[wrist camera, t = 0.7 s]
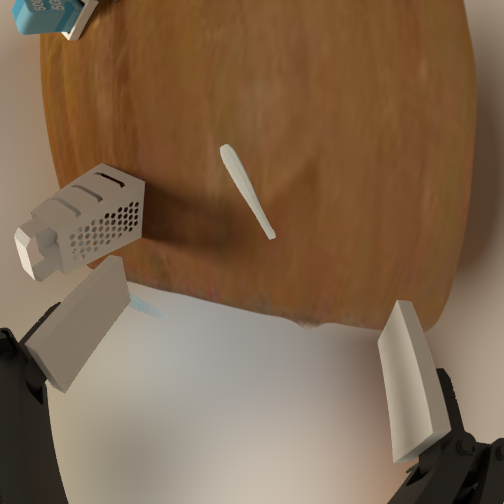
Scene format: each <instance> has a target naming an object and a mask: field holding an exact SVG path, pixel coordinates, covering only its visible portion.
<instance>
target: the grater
mask: <svg viewBox="0 0 504 504" xmlns="http://www.w3.org/2000/svg"><path fill="white" fill-rule="evenodd" d="M101 173H104V174H106V175H108V176H110V177H112V178H114V179H117V180H119V181H121V182H123V183H124V184H125V186H124V187H122V188H121V187H120V184H118V183H116V182H114V181H112V180H109V179H107V178H105V177H103V176H101ZM144 190H145V181H142V180H140V179H138V178H135V177H133V176H131V175H129V174H126V173H124V172H122V171H119V170H117V169H115V168H112V167H110V166H108V165H106V164H103V163H101V164H99V165H98V166H96V167H94V168H93V169H91V170H89V171H88V172H86V173H85V174H83V175H82V176H80V177H79V178H77V179H75V180H74V181H72V182H71V183H69V184H68V185H67V186H65V187H64V188H62V189H61V190H59V191H58V192H56V193H55V194H54V195H52V196H51V197H50V198H48V199H47V200H45V201H44V202H43V203H42V204H40V205H39V206H37V207H36V208H35V209H34V210H32V211H31V214H32V219H31V220H30V221H28V222H26V223H25V224H23V225H21V226H19V227H18V229H17V232H16V234H15V236H14V237H15V241H16V245H17V248H18V252H19V255H20V259H21V262H22V265H23V268H24V269H25V270H26V271H27V272H28V273H29V275H30V276H31V277H32V278H33V279H34V280H35V281H43V280H45V279H46V278H47V277H49V276H50V275H51V274H52V273H54V272H55V271H56V270H60V271H61V272H62V273H63V274H64V275H67V274H69V273H71V272H73V271H75V270H77V269H79V268H80V267H82V266H84V265H86V264H88V263H90V262H92V261H94V260H96V259H98V258H100V257H102V256H104V255H106V254H108V253H110V252H112V251H114V250H116V249H118V248H120V247H122V246H124V245H126V244H128V243H130V242H133V241H135V240H137V239H139V238H141V236H142V217H143V202H144ZM101 197H102V199H103V200H102V201H101ZM131 202H133V206H132V207H129V204H130V203H131ZM136 202H139V205H138V206H137V207H135V203H136ZM120 207H122V211H121V212H118V209H119V208H120ZM125 207H128V210H127V212H124V209H125ZM131 208H132V209H133V212H132V213H131V214H130V213H129V210H130V209H131ZM137 208H138V212H137V213H135V212H134V211H135V209H137ZM107 213H109V217H108V218H107V217H105V215H106V214H107ZM113 213H115V214H116V215H115V217H114V218H113V219H112V218H111V215H112V214H113ZM119 214H122V217H121V218H120V219H118V215H119ZM125 214H128V217H127V218H126V219H124V215H125ZM130 215H133V218H132V219H131V220H129V216H130ZM135 215H138V218H137V219H136V220H135V219H134V217H135ZM112 220H115V221H116V222H114V221H112ZM120 220H121V221H122V223H121V225H119V224H118V222H119V221H120ZM125 220H127V221H128V222H127V224H126V225H124V224H123V223H124V221H125ZM130 221H132V222H133V223H132V225H131V226H129V222H130ZM135 221H138V224H137V225H136V226H134V223H135ZM100 224H101V225H100ZM101 226H103V227H101ZM125 226H127V227H128V228H127V229H126V228H124V227H125ZM106 227H108V228H109V231H108V230H106ZM130 227H132V231H129V228H130ZM111 230H113V232H112V231H111ZM113 233H116V235H114V234H113ZM81 234H83V237H82V236H81ZM118 234H119V235H121V237H120V238H119V237H118ZM35 235H36V239H37V244H38V248H39V252H40V253H41V254H42V255H43V256H44V257H45V258H44V259H43V260H42V261H40V262H39V263H37V264H36V265H35V266H33V267H32V268H31V265H30V261H29V258H28V254H27V251H26V247H27V245H28V243H29V241H30V239H31V238H32V237H34V236H35ZM85 235H86V236H87V237H89V238H88V239H85ZM88 240H90V241H91V242H89V241H88ZM94 241H95V242H96V243H97V244H96V245H94V244H93V242H94ZM73 249H74V250H75V251H76V253H75V252H74V251H72V250H73ZM81 255H82V256H83V257H84V259H81Z"/></svg>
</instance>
